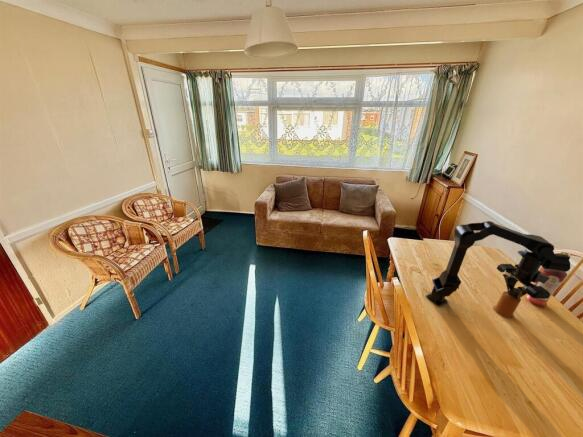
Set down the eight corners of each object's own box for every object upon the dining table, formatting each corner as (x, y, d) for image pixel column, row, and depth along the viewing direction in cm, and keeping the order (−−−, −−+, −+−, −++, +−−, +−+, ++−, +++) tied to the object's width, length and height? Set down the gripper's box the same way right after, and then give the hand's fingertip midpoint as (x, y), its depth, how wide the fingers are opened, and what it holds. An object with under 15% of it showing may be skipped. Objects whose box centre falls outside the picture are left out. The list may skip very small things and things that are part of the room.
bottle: (507, 319, 100) (519, 297, 94) (491, 309, 105) (502, 288, 99) (514, 314, 102) (527, 293, 97) (499, 305, 107) (510, 284, 102)
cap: (521, 297, 97) (524, 293, 96) (512, 297, 97) (514, 293, 96) (513, 291, 100) (516, 287, 99) (504, 290, 101) (507, 286, 100)
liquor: (545, 302, 109) (577, 253, 96) (546, 311, 104) (580, 261, 92) (525, 294, 113) (552, 246, 101) (524, 302, 108) (554, 253, 96)
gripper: (574, 282, 84) (553, 312, 90) (528, 253, 100) (514, 280, 107) (543, 281, 84) (524, 312, 91) (502, 252, 101) (489, 280, 108)
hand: (513, 295), depth 99 cm, fingers closed on cap, 4 cm apart
